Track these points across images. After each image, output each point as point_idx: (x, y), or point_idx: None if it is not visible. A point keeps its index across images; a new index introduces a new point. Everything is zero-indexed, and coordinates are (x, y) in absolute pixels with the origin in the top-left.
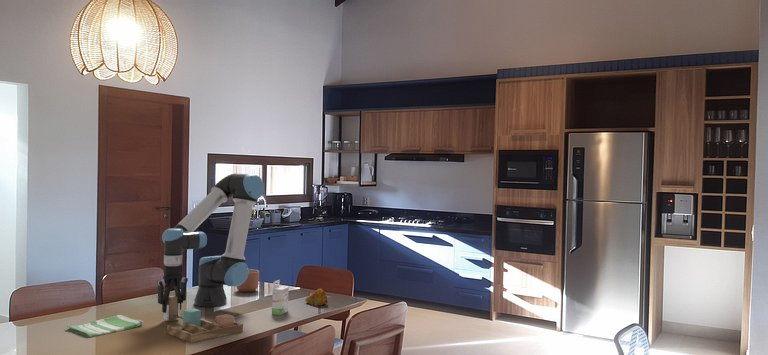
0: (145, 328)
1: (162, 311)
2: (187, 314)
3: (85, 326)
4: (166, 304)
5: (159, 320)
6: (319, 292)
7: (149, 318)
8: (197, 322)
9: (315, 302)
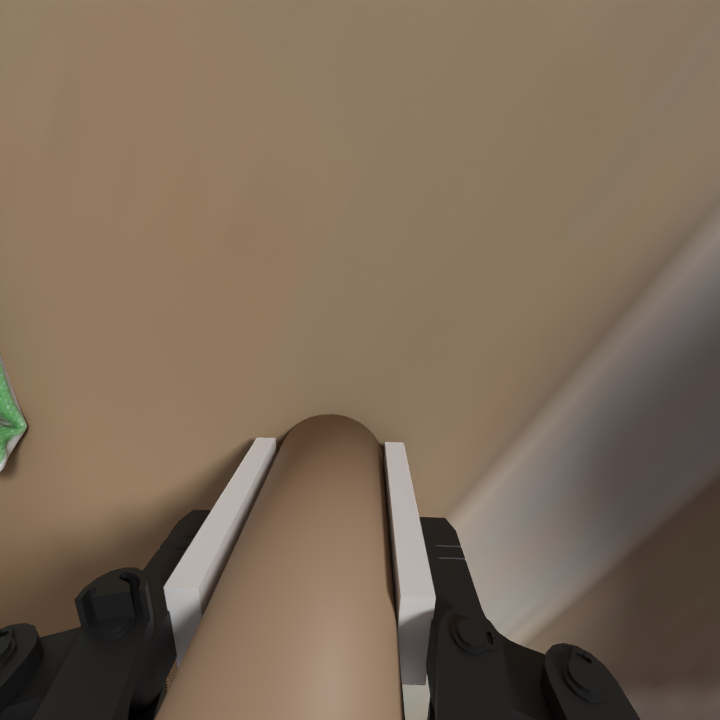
0: (32, 535)
1: (182, 526)
2: None
3: None
4: (156, 689)
5: (241, 383)
6: None
7: (192, 223)
8: None
9: None
